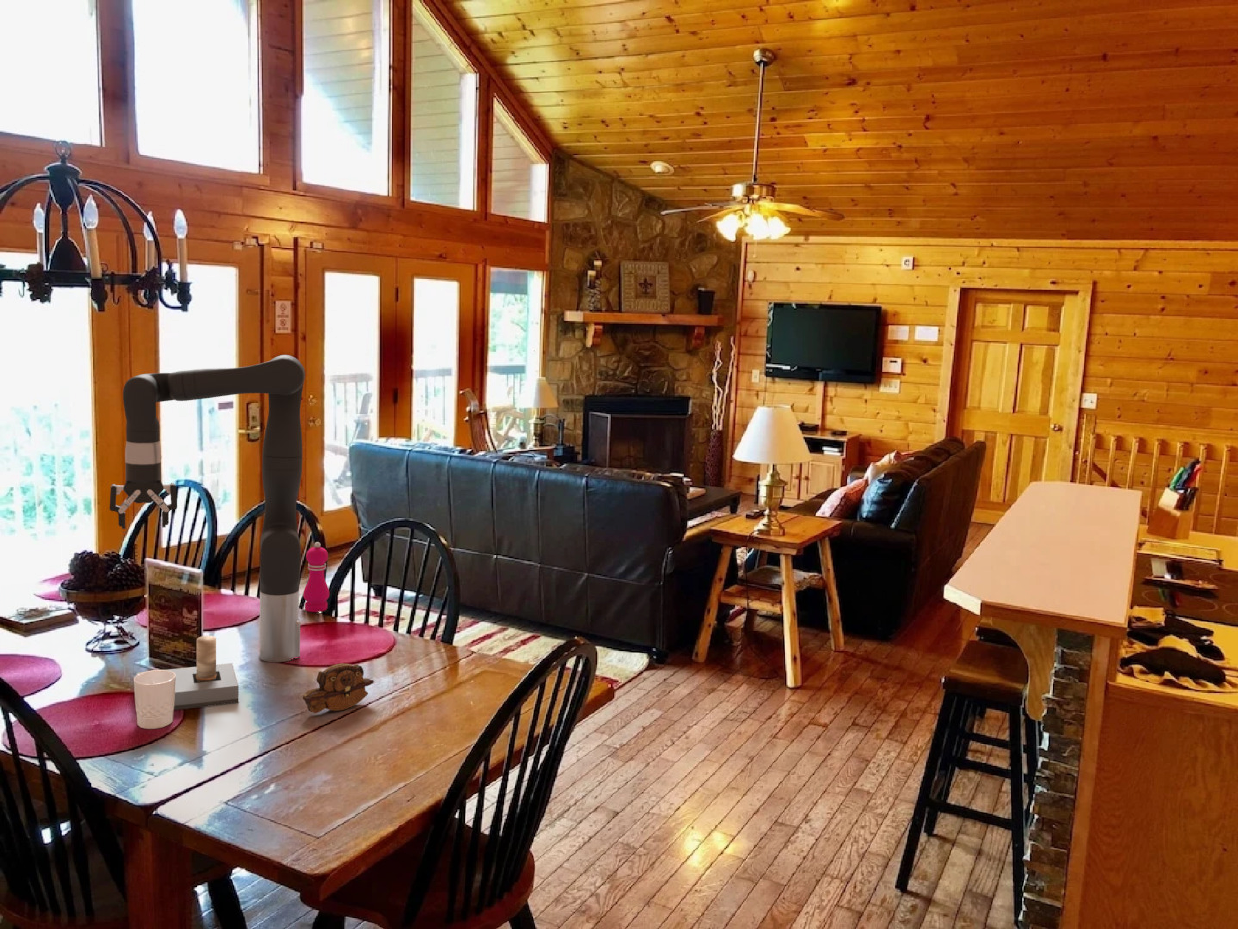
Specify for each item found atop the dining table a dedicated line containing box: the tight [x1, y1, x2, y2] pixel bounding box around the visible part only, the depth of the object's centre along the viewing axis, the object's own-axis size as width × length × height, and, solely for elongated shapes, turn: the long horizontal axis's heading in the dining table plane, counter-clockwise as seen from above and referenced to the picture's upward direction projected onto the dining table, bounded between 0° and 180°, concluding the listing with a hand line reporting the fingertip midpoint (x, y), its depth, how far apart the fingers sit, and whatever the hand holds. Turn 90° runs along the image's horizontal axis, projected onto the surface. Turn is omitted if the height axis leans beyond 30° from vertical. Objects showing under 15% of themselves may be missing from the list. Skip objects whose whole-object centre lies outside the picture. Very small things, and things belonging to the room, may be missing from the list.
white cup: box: [133, 669, 176, 730], centre depth 200 cm, size 8×8×10 cm
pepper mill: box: [302, 541, 330, 613], centre depth 277 cm, size 7×7×20 cm
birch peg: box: [196, 635, 217, 683], centre depth 215 cm, size 4×4×12 cm
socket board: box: [136, 662, 240, 711], centre depth 214 cm, size 20×14×4 cm
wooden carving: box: [302, 663, 374, 714], centre depth 212 cm, size 16×5×10 cm, turn 140°
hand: (144, 527), depth 227 cm, fingers open, 8 cm apart
